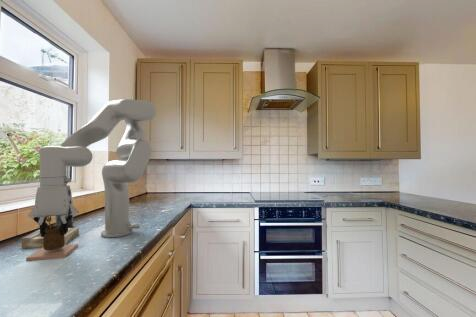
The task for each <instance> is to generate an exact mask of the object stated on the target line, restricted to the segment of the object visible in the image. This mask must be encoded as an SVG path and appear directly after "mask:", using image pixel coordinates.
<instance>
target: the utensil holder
mask: <svg viewBox="0 0 476 317" xmlns="http://www.w3.org/2000/svg"><path fill="white" fill-rule="evenodd" d="M59 217H60V216H59ZM60 219H61V218H60ZM56 220H57V219H56V217H54V218H52V216H48V217H46V223H48V227H47V228H45V234H44V237H43V247H44V250H56V249H60V248H62V247H64V244H65V236H64V235H63V236H62V235H61V226H56ZM51 221H52V223H53V225H51ZM57 223H58V222H57ZM59 225H60V224H59Z"/></svg>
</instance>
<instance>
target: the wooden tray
mask: <svg viewBox="0 0 476 317" xmlns="http://www.w3.org/2000/svg"><path fill="white" fill-rule="evenodd" d="M79 230H80V228H79V227H71V228H68V232H67V233H66V234H65V235H64V236H65V244H64V245H68V243H69V242H71V241H72V240H74V239H75V238H76V237H78V235H79V233H80V231H79ZM42 247H43V237H41V234H40V228H39V229H38V230H35V231H34V232H31V233H30V234H27V235H26V236H24V237H21V249H30V248H31V249H32V248H42Z"/></svg>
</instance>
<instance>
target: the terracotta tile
mask: <svg viewBox="0 0 476 317" xmlns="http://www.w3.org/2000/svg"><path fill="white" fill-rule="evenodd" d="M78 245H79V244H78V243H75V244H74V243H73V244H66V245H64V247H62V248H60V249H56V250H44V247H40V248H39V249H38V250H36V251H35V252H33V253H31V254H30V255H28V256H26V258H25V261H26V262H29V261H30V262H31V261H39V260H40V261H41V260H51V259H64V258H67V257H66V256H68V255H70V254H71V253H72V252H74V250H76V249H77V248H78V247H79V246H78Z"/></svg>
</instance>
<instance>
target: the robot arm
mask: <svg viewBox="0 0 476 317" xmlns="http://www.w3.org/2000/svg"><path fill="white" fill-rule="evenodd" d="M156 115H157V108H156V106H155V104H154V103H153V102H151V101H148V100H139V99H131V98H129V99H128V98H123V99H117V100H110V101H108V102H107V103H104V105H103V107H101V109H99V111H98V112H97V113H96V114H95V115H94V116H93V117H92V118H91V120H89V121H88V123H87V124H85V125H83V126H81V127H80V128H79V129H76V131H74V132H72V134H70V135H69V136H68V137H67V138H65V140H63V142H62V143H60V145H59V146H57V145H44V146H42V147H40V148H39V186H37V188H36V189H37V190H36V194H35V200H34V207H33V209H32V210H31V211H30V212H29V213H28V214H27V216H28V217H29V218H31V219H32V220H34V222H36V223H37V225H38V226H39V229H40V234H41V237H44V234H45V228H47V227H49V223H48V222H47V221H46V217H47V218H48V216H49V217H50V216H51V217H56V216H59V215H60V217H61V220H62V224H61V235H62V236H63V235H65V234H66V233H67V232H68V222H69V221H70V220H71V219H72V218H73V219H74V217H76V215H78V214H79V212H80V211H79V210H78V209H77V208H76V207H75V206H74V204H73V194H72V189H71V186H70V185H68V183H71V182H72V178H69V177H68V176H67V172H68V171H67V168H69V167H73V168H74V167H77V168H79V167H85V166H87V165H89V164H90V163H91V162H92V160H93V152H92V151H91V149H89V148H87V147H89V146H91V145H92V144H95V143H97V142H100V141H101V140H104V139H106V138H107V137H108V136H110V134H111V133H112V132H113V130H114V129H115V128H116V127H117V126H118V125H119V123H120V122H122V121H124V122H125V125H126V126H125V127H126V128H125V132H124V133H123V135H122V138H121V139H120V141H119V144H118V145H117V147H116V151H115V154H116V157H117V158H118V159H115V160H114V159H113V160H110V161H107V162H106V163H105V164H104V165H103V167H102V168H101V169H102V170H101V176H102V180H103V187H104V230H102V231H101V232H100V235H101V237H103V238H119V237H120V238H121V237H124V236H128V235H131V234H133V233H134V229H140V228H141V223H137V222H136V223H132V220H130V191H129V189H130V188H129V186H128V184H129V183H130V184H132V183H137V182H138V181H139V180H140V179H141V178H142V176H143V174H144V172H145V171H146V168H147V165H148V163H149V161H150V160H151V156H152V146H151V144H150V142H149V141H148V140H146V139H145V135H146V132H145V131H146V130H145V128H144V126H143V123H142V122H145V121H151V120H153V119H154V118H155V117H156ZM70 212H72V214H70V215H69V216H68V213H70Z"/></svg>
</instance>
